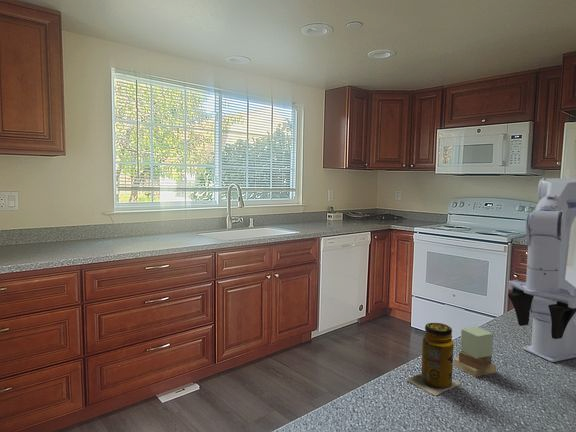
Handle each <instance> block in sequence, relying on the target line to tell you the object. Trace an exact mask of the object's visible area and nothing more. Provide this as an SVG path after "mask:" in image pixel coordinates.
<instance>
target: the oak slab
mask: <svg viewBox="0 0 576 432" xmlns="http://www.w3.org/2000/svg"><path fill="white" fill-rule="evenodd" d="M453 365H454V366H456V367H457V368H458V369H460V370H462V371H464V372H466V373H467V374H469V375H471V376H472V377H474V378H477V377H481V376H486V375H491V374H495V373H497V365H495V364H493V363H491V364H489V365H488V366H486V367H485V368H483V369H482V370H480V369H477V368H475V367H472V366H469V365H466V364H464V363H461V362H459V357H456V358H453Z"/></svg>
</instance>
